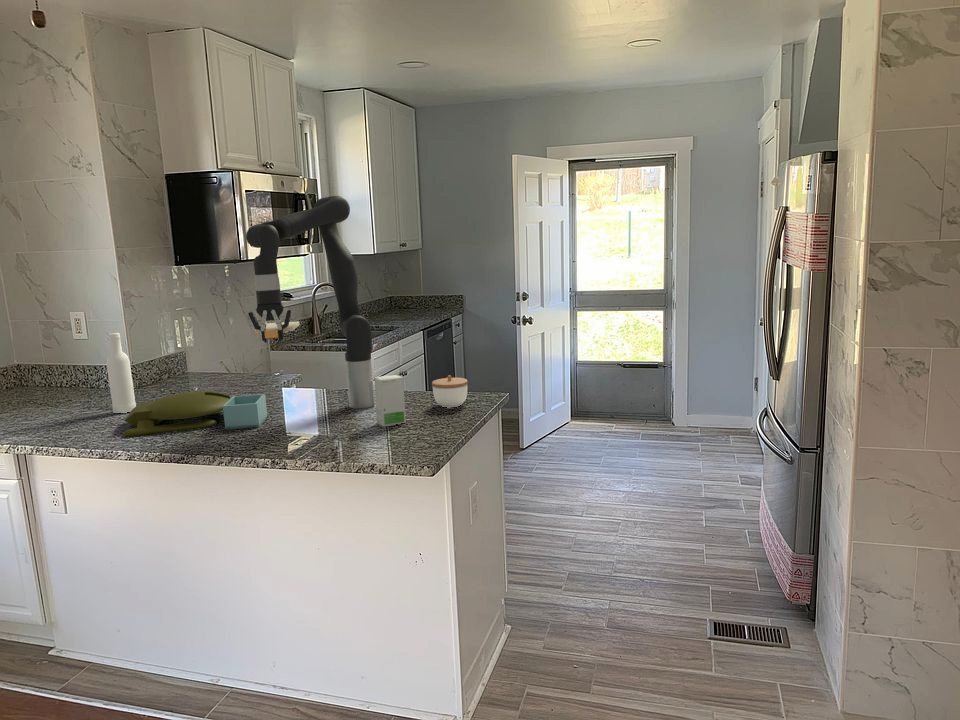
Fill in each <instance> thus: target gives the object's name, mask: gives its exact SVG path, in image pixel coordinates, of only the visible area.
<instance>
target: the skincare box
mask: <svg viewBox="0 0 960 720" xmlns="http://www.w3.org/2000/svg"><path fill="white" fill-rule="evenodd" d="M373 383H374V397H375V412H376V413H375V414H376V415H375V416H376V423H377V424H378V425H379V426H381V427H392V426H397V425H396V424H398V425H402V424H401V423H405V424H406V423H407V421H406V405H405V404H406V403H405V388H404V387H405V386H404V385H405V384H404V377H403V376H400V375H397V374H394V375H383V376H374V377H373Z"/></svg>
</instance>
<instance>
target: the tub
mask: <svg viewBox="0 0 960 720" xmlns="http://www.w3.org/2000/svg"><path fill="white" fill-rule="evenodd" d="M267 417H268V410H267V399H266V394H265V393H262V394H261V393H259V394H258V393H257V394H245V395H233V396H232V397H231V399H230V400H229V401H228V402H227V403H225V404H224V405H223V419H224V428H225V429H226V430H236V428H239V429H249V428H252V429H253V428H259V427H261V425H262V424H263V423H264V422H265V420H266V418H267Z"/></svg>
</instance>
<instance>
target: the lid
mask: <svg viewBox="0 0 960 720" xmlns="http://www.w3.org/2000/svg"><path fill="white" fill-rule="evenodd" d="M284 322H285V321H283V322H282V321H281V323H282V325H283V324H284ZM299 326H300V321H290V322H289V326H288V327H287V328H284V329H283V333H284V334H287V333H289V332H293V331H294V330H296V329H297V328H298V327H299ZM278 330H279V329H278V327H277V324H276V323H275V322H269V323H268V322H267V325H266V330H265V331H264V332H265V338H268V339H275V338H278V339H279V335H278ZM254 334H262V333H261V331H260V330H256V329H255V328H254Z"/></svg>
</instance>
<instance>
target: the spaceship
mask: <svg viewBox="0 0 960 720" xmlns="http://www.w3.org/2000/svg"><path fill="white" fill-rule="evenodd" d="M231 398H232V397H231V396H229V395H228V394H225V393H221V392H218V391H209V390H207V391H206V390H201V391H199V390H198V391H197V390H196V391H195V390H194V391H187V392H186V391H185V392H179V393H174V394H169V395H166V396H163V397H161V398H158V399H156V400H149V401H141V402H140V403H138V404H136V407H135V408H133V409H132V410H131V412H130V413H128V414H127V416H126V417H125V418H124V420H123V422H126V423H128V424H130V425H132V426H135V428H129V429H126V430H125V431H124V432H123V436H124V437H126V438H131V437H132V438H133V436H134V437H141V436H149V435H157V434H158V433H159V434H167V433H166V432H168V433H173V432H174V431H176V432H182V431H183V430H185V431H192V430H191V429H193V430H199V429H198V428H201V429H206V428H205V427H209V428H213V427H212V426H214V427H215V426H216V425H217V424H218V422H217V421H216V420H215V419H203V420H194V421H186V422H178V423H170V424H161V425H159V424H160V423H161V422H162V421H164V420H166V421H167V420H180V419H183V420H184V419H190V418H197V417H202V416H203V417H204V416H207V415H212V414H216V413H220V412H222V411H223V405H224V404H225V403H227V402H228V401H229V400H230V399H231ZM174 433H175V432H174ZM159 434H158V435H159Z"/></svg>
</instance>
